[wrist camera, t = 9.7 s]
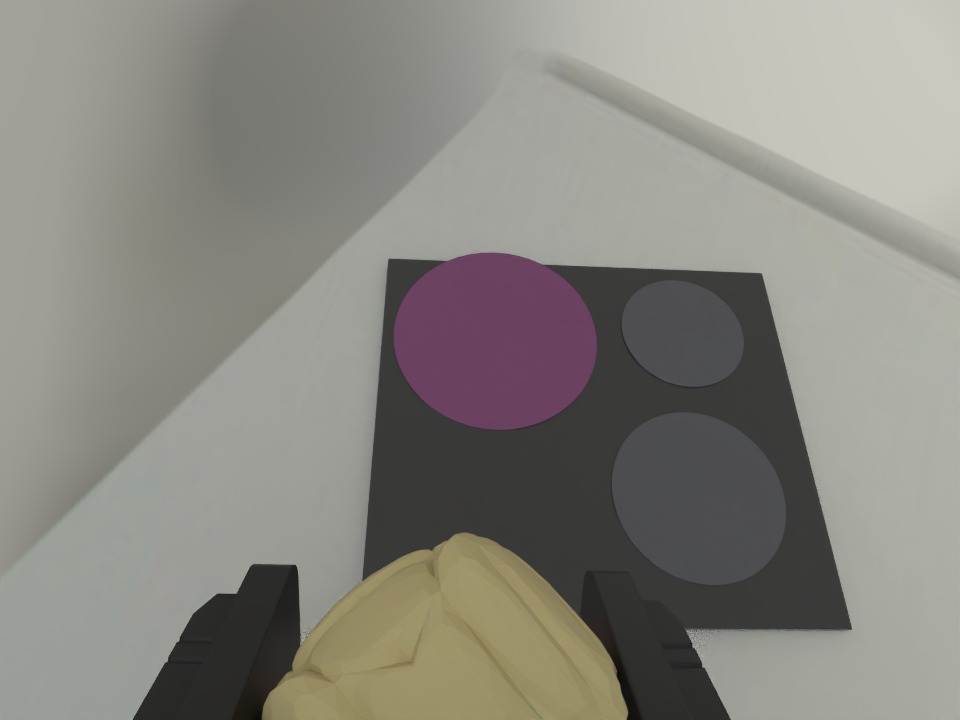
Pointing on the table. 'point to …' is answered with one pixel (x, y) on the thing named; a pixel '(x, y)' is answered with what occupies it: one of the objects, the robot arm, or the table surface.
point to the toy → (451, 647)
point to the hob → (601, 436)
